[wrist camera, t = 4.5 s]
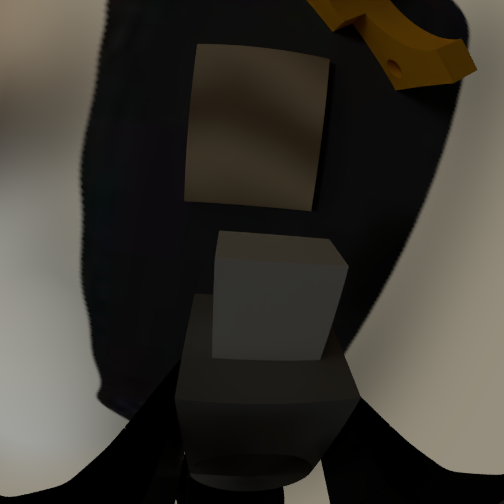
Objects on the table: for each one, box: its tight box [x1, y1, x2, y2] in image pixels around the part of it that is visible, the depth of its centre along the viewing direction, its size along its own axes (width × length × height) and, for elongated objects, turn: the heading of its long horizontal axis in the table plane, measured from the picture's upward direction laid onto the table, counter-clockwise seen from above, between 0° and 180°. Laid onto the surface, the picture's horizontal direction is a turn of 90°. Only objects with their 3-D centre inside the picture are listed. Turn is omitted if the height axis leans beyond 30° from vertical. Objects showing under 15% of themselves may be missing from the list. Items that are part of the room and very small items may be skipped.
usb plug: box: [175, 231, 361, 491], centre depth 8 cm, size 9×4×4 cm, turn 174°
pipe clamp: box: [307, 0, 477, 90], centre depth 11 cm, size 12×4×6 cm, turn 35°
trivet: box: [184, 44, 330, 211], centre depth 16 cm, size 10×8×1 cm
